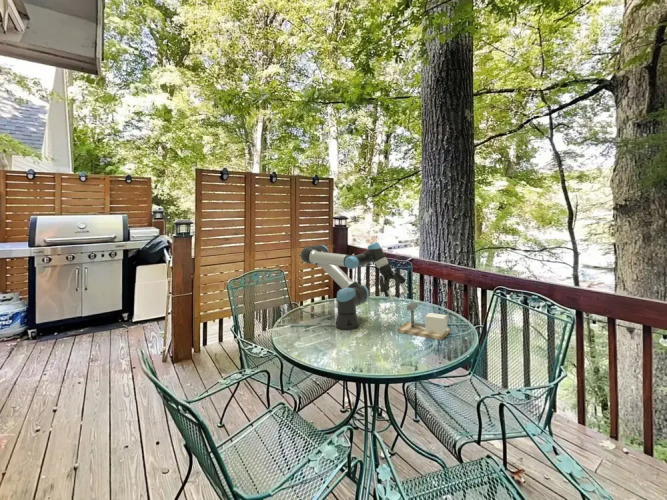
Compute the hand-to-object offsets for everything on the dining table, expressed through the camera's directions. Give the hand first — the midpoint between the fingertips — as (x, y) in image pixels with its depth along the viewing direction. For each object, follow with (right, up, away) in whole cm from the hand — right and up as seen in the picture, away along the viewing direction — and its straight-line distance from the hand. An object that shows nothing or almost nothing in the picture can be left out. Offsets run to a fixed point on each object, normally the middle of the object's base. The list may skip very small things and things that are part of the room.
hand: (399, 297), depth 205 cm
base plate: (+12, -19, -8) cm, 24 cm away
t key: (+10, -17, -7) cm, 20 cm away
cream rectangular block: (+17, -17, -12) cm, 27 cm away
